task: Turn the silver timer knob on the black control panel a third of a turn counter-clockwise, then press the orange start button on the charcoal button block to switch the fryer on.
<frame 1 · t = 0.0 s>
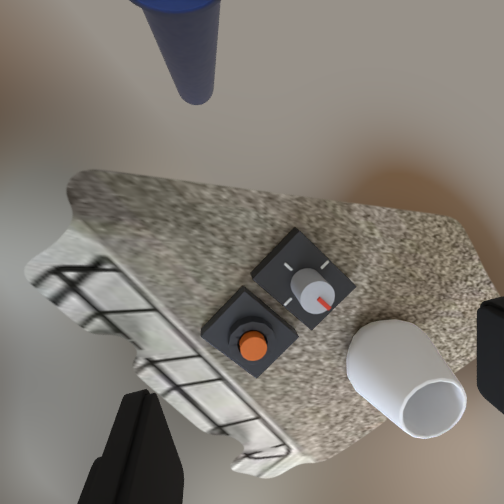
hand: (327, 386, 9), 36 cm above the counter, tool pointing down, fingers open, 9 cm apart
cup: (375, 345, 52), on the counter
timer knob: (311, 290, 42), point 5 cm above the counter, hinge at 0.0°
start button: (253, 345, 44), point 4 cm above the counter, slide at 0.1 cm
timer panel: (301, 276, 47), on the counter
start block: (249, 329, 48), on the counter
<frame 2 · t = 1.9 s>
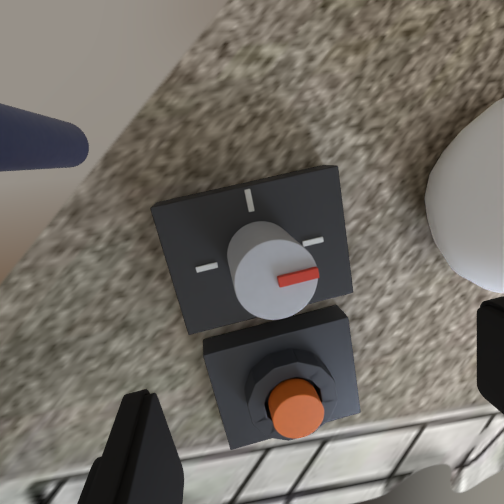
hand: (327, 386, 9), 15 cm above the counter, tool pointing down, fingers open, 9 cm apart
cup: (477, 190, 25), on the counter
timer knob: (268, 266, 19), point 5 cm above the counter, hinge at 0.0°
start button: (295, 407, 23), point 4 cm above the counter, slide at 0.1 cm
timer panel: (254, 244, 24), on the counter
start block: (281, 368, 27), on the counter
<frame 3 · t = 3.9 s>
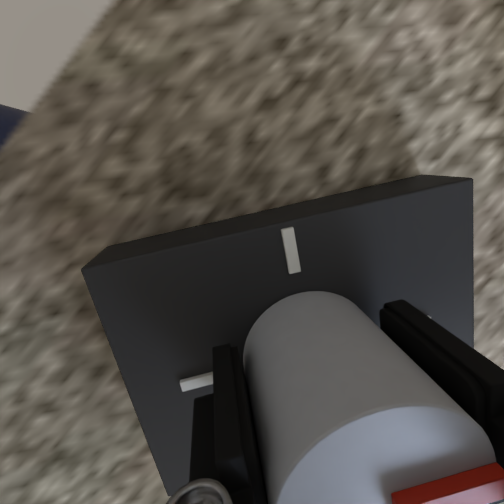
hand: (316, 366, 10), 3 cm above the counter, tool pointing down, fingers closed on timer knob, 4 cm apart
timer knob: (339, 410, 8), point 5 cm above the counter, hinge at 0.1°, touching gripper
timer panel: (290, 316, 13), on the counter
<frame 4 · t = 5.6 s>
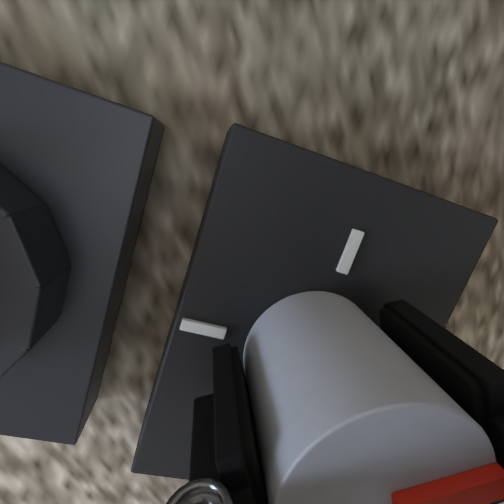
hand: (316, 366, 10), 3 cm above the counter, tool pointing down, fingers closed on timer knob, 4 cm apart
timer knob: (339, 410, 8), point 5 cm above the counter, hinge at 120.0°, touching gripper
timer panel: (290, 316, 13), on the counter
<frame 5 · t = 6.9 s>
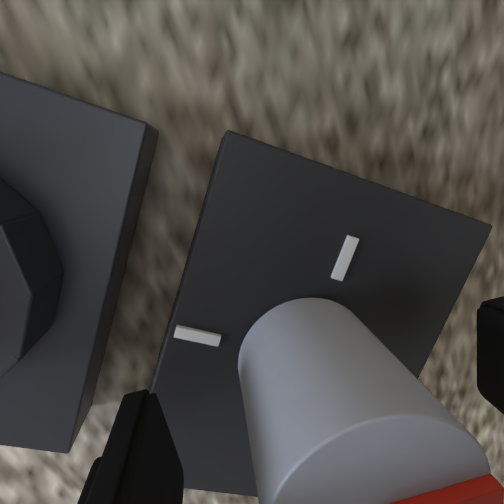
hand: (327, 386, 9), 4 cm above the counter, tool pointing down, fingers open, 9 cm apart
timer knob: (334, 419, 8), point 5 cm above the counter, hinge at 119.1°
timer panel: (285, 322, 13), on the counter
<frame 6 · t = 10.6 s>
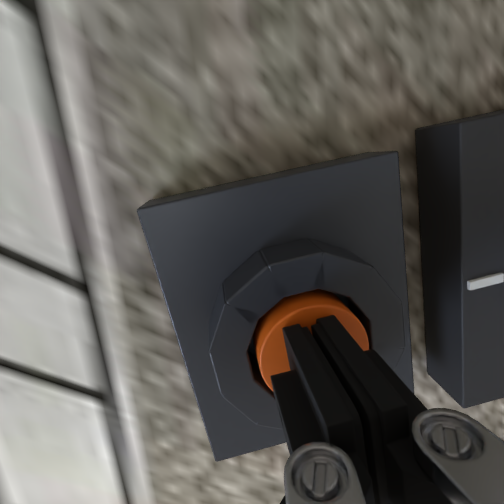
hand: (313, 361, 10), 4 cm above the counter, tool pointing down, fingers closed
start button: (307, 342, 11), point 4 cm above the counter, slide at -0.8 cm, touching gripper
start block: (284, 299, 14), on the counter
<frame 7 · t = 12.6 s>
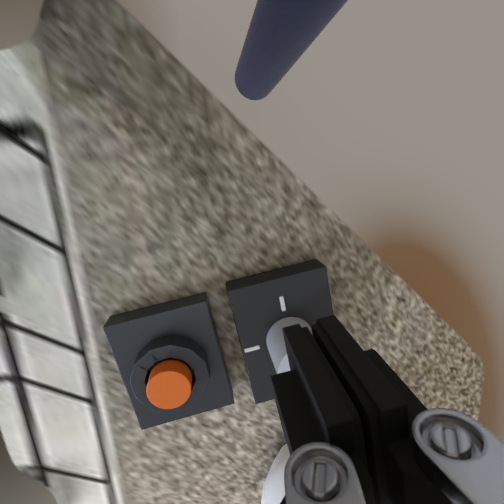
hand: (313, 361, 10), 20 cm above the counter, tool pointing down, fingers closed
cup: (311, 462, 37), on the counter
timer knob: (297, 353, 27), point 5 cm above the counter, hinge at 119.1°
start button: (169, 383, 27), point 4 cm above the counter, slide at 0.1 cm
timer panel: (283, 325, 32), on the counter
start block: (174, 354, 32), on the counter
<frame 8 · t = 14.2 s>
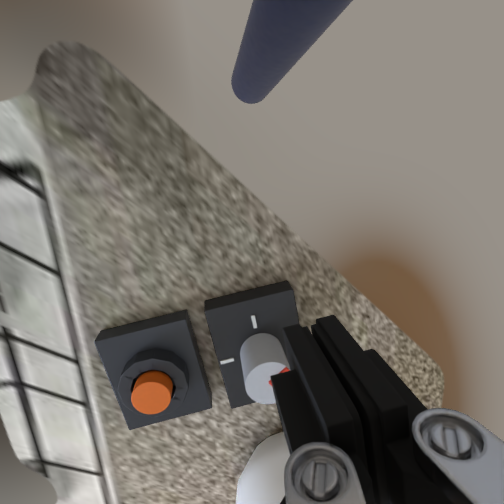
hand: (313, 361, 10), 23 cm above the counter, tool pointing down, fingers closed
cup: (284, 459, 41), on the counter
timer knob: (265, 367, 31), point 5 cm above the counter, hinge at 119.1°
start button: (152, 392, 31), point 4 cm above the counter, slide at 0.1 cm
timer panel: (257, 339, 36), on the counter
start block: (159, 364, 35), on the counter
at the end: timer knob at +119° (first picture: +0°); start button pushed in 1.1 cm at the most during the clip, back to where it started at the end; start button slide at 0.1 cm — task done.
